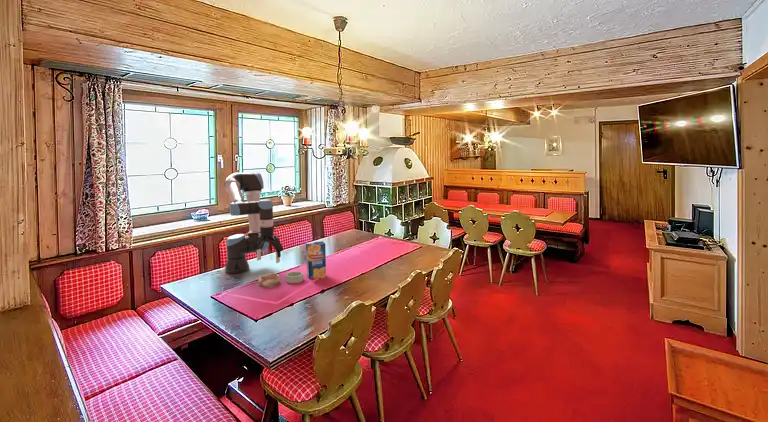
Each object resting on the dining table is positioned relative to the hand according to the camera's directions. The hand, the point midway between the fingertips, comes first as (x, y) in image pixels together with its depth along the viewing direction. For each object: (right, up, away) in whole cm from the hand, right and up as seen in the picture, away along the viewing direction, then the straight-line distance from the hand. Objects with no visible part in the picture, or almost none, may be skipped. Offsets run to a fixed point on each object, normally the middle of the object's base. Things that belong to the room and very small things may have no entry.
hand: (268, 261), depth 230 cm
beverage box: (+26, -12, +16) cm, 32 cm away
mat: (0, -14, +3) cm, 15 cm away
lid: (0, -13, +2) cm, 14 cm away
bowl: (+14, -14, +8) cm, 21 cm away
